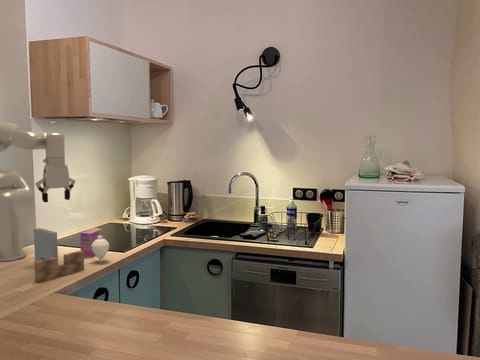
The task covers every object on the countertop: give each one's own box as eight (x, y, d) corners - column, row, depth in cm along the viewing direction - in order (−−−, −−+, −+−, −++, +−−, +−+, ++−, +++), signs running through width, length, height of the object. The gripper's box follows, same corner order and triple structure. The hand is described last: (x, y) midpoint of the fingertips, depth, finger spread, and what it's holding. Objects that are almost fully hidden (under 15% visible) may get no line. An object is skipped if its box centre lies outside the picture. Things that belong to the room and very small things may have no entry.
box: (91, 258, 197) (90, 233, 196) (80, 257, 198) (79, 232, 197) (103, 252, 207) (102, 228, 206) (92, 251, 208) (91, 227, 207)
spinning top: (91, 265, 186) (90, 238, 185) (92, 260, 193) (91, 234, 192) (109, 263, 188) (108, 237, 187) (109, 259, 195) (109, 233, 194)
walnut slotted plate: (38, 283, 163) (37, 262, 162) (35, 281, 165) (34, 261, 164) (84, 269, 179) (83, 251, 178) (80, 268, 181) (80, 250, 180)
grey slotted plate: (58, 269, 180) (56, 232, 178) (52, 270, 178) (51, 233, 176) (40, 263, 188) (39, 228, 187) (35, 264, 186) (33, 229, 185)
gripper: (39, 162, 173) (40, 204, 175) (78, 161, 186) (79, 199, 188) (31, 161, 178) (32, 201, 180) (70, 160, 191) (70, 197, 193)
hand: (56, 200), depth 184 cm, fingers open, 9 cm apart
